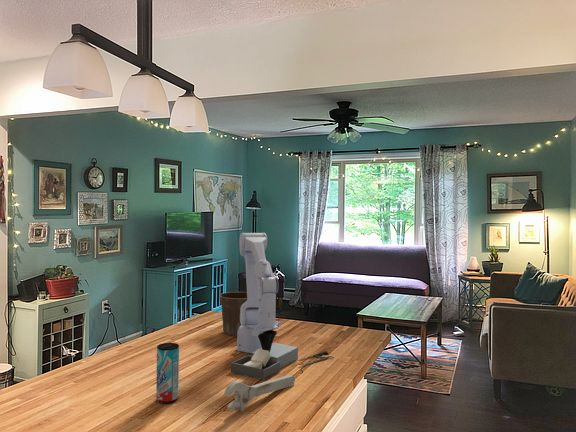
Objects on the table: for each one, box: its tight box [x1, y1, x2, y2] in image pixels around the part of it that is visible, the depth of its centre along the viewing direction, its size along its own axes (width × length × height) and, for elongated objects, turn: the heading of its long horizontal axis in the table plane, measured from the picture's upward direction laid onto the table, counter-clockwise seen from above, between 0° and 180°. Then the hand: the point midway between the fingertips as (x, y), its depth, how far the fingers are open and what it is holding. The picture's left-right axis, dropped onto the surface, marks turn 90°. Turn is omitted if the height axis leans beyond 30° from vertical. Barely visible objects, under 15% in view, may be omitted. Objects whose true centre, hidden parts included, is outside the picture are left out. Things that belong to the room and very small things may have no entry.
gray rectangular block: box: [251, 342, 299, 369], centre depth 163 cm, size 10×14×4 cm
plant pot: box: [218, 291, 255, 337], centre depth 200 cm, size 16×16×16 cm
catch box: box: [230, 354, 281, 381], centre depth 152 cm, size 13×10×3 cm
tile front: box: [243, 361, 262, 369], centre depth 151 cm, size 4×4×2 cm
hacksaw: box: [296, 350, 335, 374], centre depth 162 cm, size 24×10×2 cm, turn 132°
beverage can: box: [155, 342, 180, 404], centre depth 129 cm, size 6×6×15 cm
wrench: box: [224, 374, 296, 412], centre depth 131 cm, size 8×2×30 cm
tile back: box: [251, 349, 271, 367], centre depth 155 cm, size 4×4×2 cm
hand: (266, 352), depth 158 cm, fingers closed
